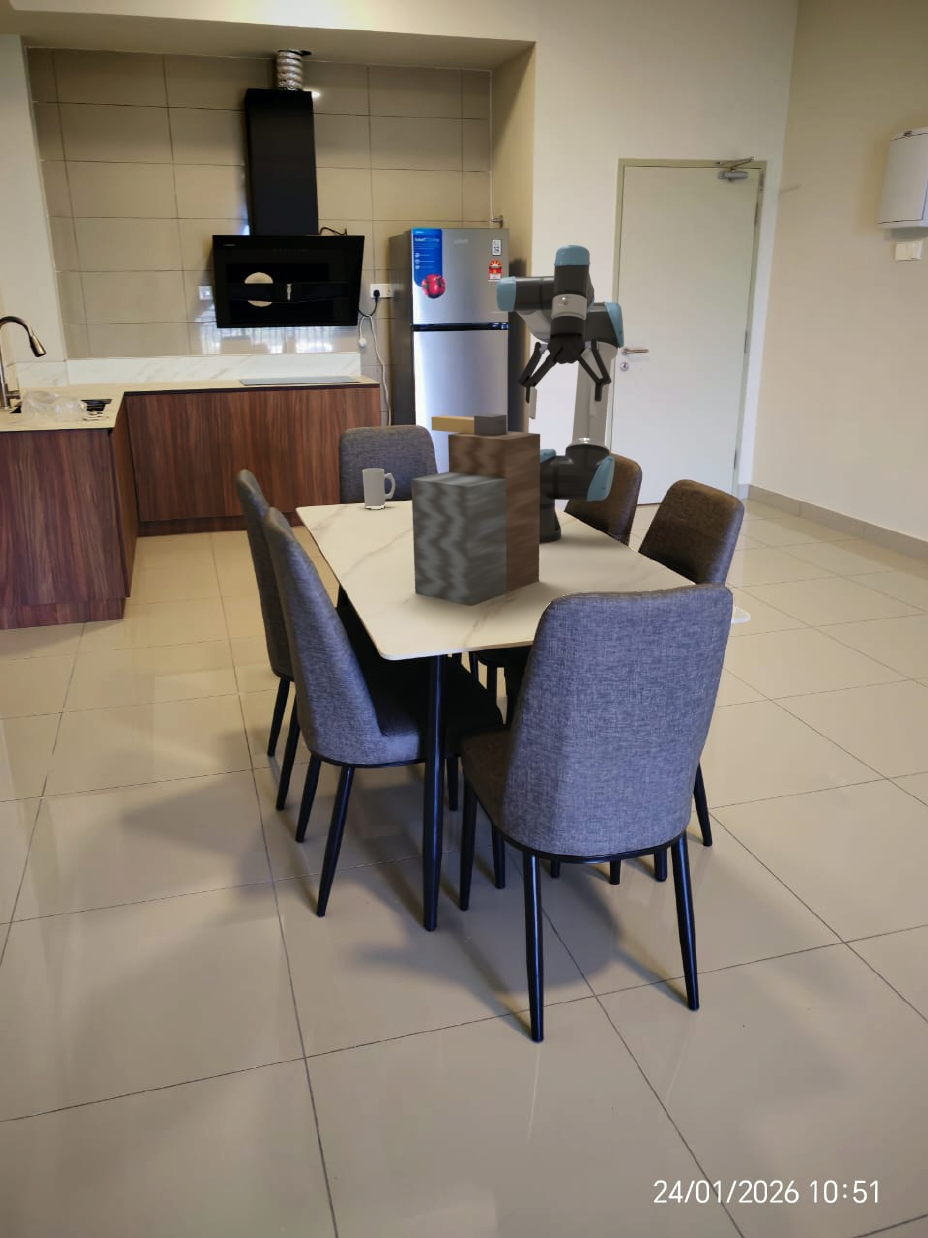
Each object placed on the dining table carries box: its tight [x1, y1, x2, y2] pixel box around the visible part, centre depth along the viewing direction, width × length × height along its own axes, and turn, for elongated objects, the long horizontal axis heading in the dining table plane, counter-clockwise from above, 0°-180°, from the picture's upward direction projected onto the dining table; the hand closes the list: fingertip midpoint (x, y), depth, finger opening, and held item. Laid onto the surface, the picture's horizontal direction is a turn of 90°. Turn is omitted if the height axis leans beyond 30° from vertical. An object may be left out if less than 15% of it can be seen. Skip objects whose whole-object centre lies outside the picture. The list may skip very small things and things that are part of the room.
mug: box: [362, 467, 396, 507], centre depth 291 cm, size 10×7×12 cm, turn 95°
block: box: [431, 413, 508, 436], centre depth 205 cm, size 18×5×4 cm, turn 49°
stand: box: [410, 430, 541, 607], centre depth 202 cm, size 16×24×33 cm, turn 139°
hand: (561, 417), depth 200 cm, fingers open, 13 cm apart
